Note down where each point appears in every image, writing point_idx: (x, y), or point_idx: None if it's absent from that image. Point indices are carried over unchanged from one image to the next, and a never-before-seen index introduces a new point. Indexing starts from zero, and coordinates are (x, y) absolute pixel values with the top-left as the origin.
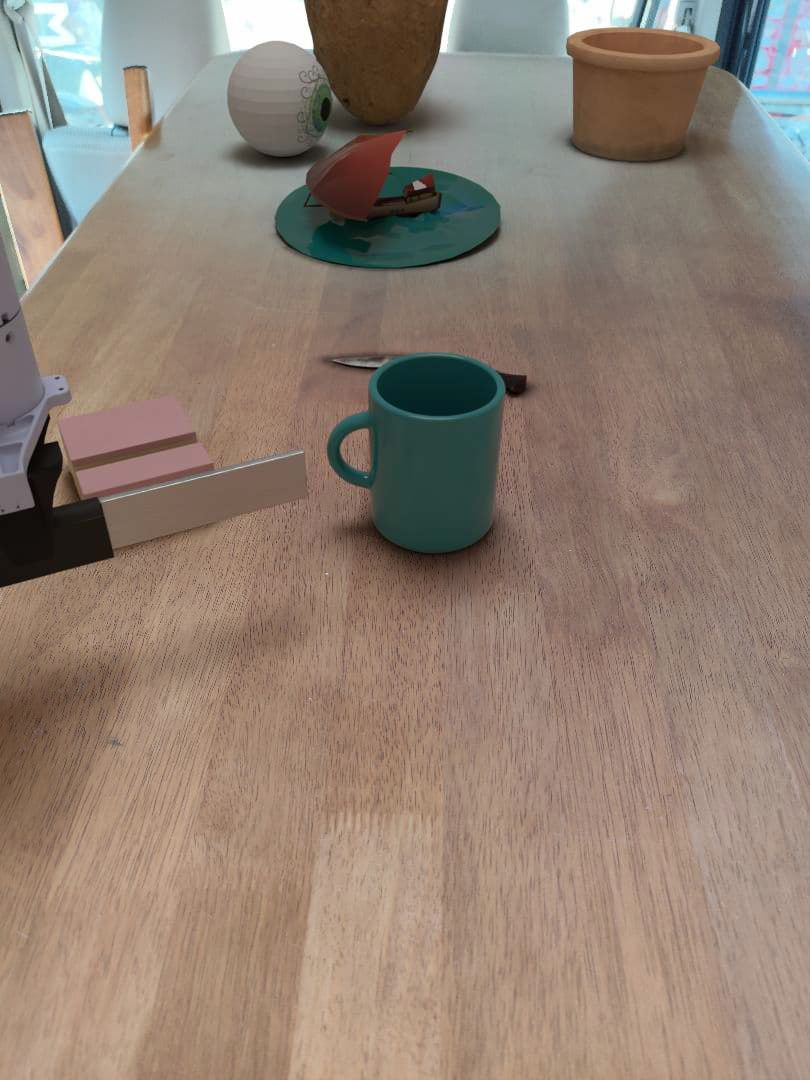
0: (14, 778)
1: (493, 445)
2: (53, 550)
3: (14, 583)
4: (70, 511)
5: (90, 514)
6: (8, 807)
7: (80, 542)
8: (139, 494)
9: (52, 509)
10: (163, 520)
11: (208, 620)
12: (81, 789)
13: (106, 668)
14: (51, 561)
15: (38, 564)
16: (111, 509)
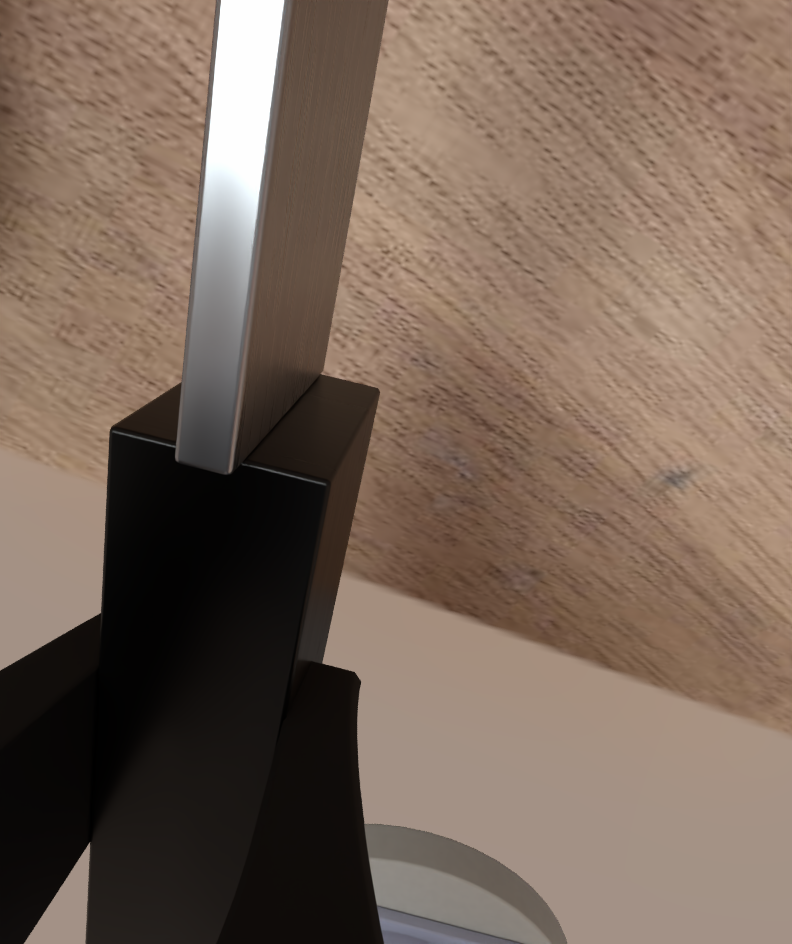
0: (604, 658)
1: None
2: (352, 689)
3: None
4: (181, 598)
5: (269, 533)
6: (661, 688)
7: (333, 557)
8: (267, 195)
9: (376, 940)
10: (352, 79)
11: (453, 58)
12: (732, 582)
13: (442, 395)
14: (322, 638)
15: None
16: (265, 399)
